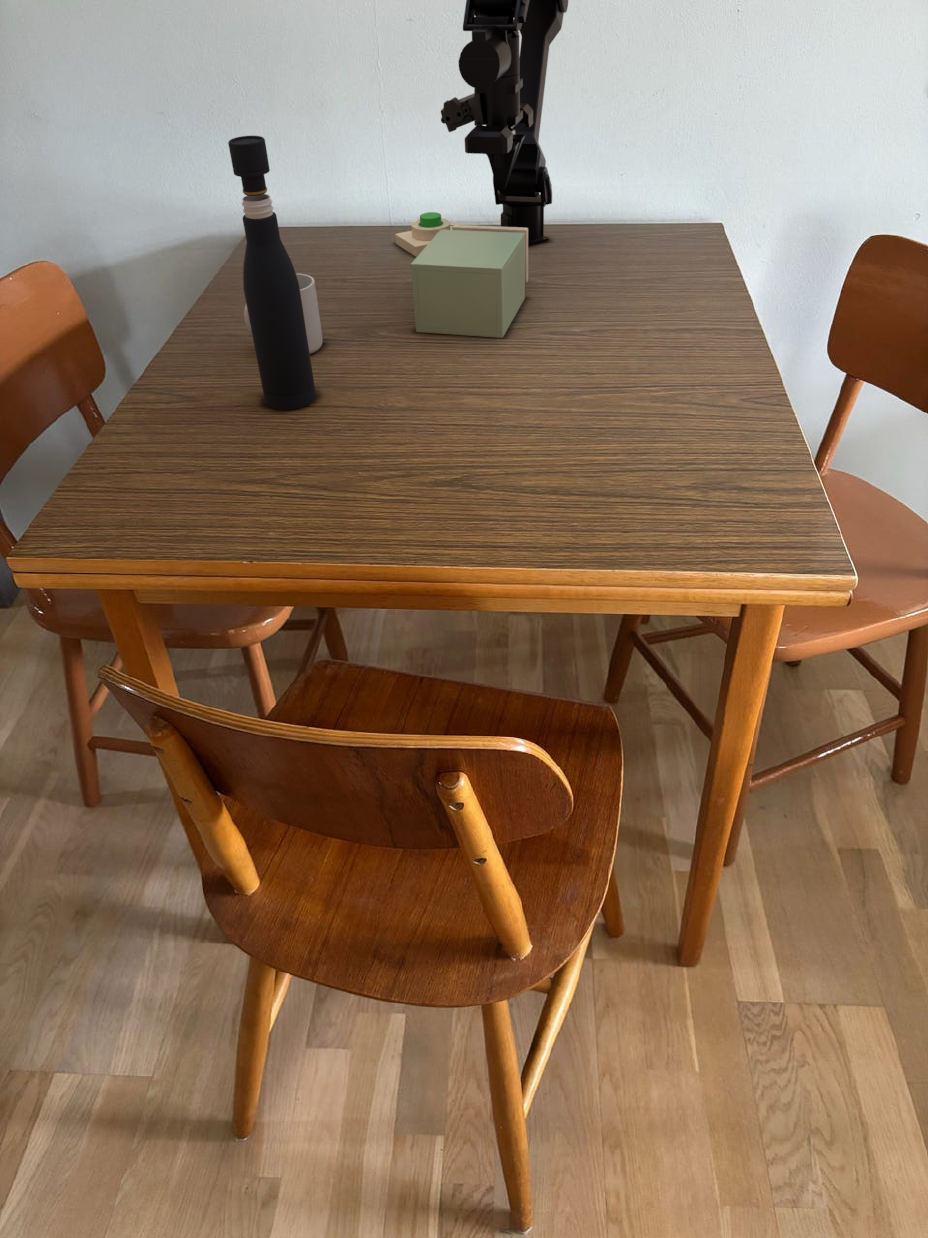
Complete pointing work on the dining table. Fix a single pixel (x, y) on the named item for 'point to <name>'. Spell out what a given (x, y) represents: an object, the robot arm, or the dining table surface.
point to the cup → (305, 312)
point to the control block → (419, 236)
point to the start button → (430, 220)
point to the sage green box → (469, 282)
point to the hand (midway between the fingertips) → (501, 189)
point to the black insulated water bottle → (271, 287)
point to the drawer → (500, 229)
